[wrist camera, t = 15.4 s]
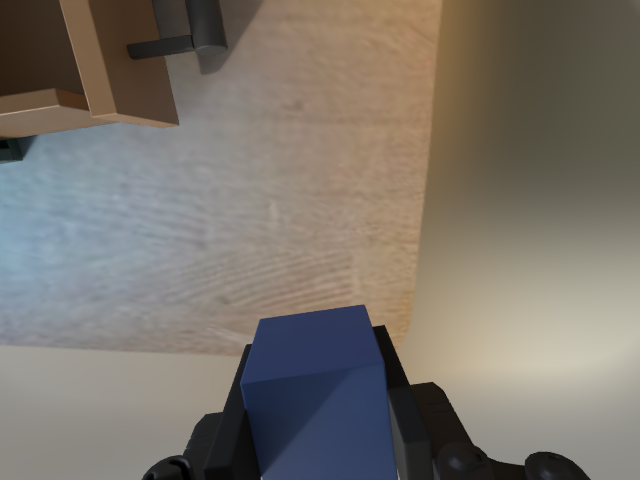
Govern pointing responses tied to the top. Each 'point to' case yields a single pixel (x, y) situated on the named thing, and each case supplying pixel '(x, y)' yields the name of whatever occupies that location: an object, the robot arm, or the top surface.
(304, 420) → the block
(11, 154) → the cabinet
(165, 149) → the top surface
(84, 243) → the top surface
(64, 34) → the drawer
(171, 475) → the robot arm
